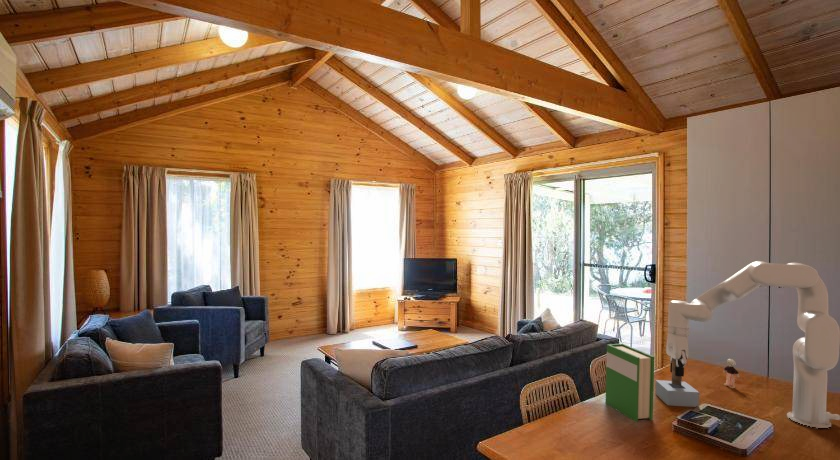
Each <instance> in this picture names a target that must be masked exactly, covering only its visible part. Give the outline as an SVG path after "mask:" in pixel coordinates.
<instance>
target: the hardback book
mask: <svg viewBox="0 0 840 460" xmlns="http://www.w3.org/2000/svg"><path fill="white" fill-rule="evenodd" d="M605 368H606V369H605V371H606V372H605V373H606V375H605V404H607V405H608V404H609V405H608V406H610V407H612V408H613V409H615V410H616V409H617V410H616V411H618V412H620V413H621V414H623V415H624V416H626V417H627V418H629V419H630V420H632V421H633V422H635V423H636V422H639V420H640V419H648V420H649V421H653V418H654V392H655V391H654V390H655V388H654V387H655V383H654V382H655V355H652V354H649V353H646V352H644V351H642V350H640V349H637V348H634V347H632V346H629V345H628V344H625V343H613V344H611V343H609V344H606V367H605Z"/></svg>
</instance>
